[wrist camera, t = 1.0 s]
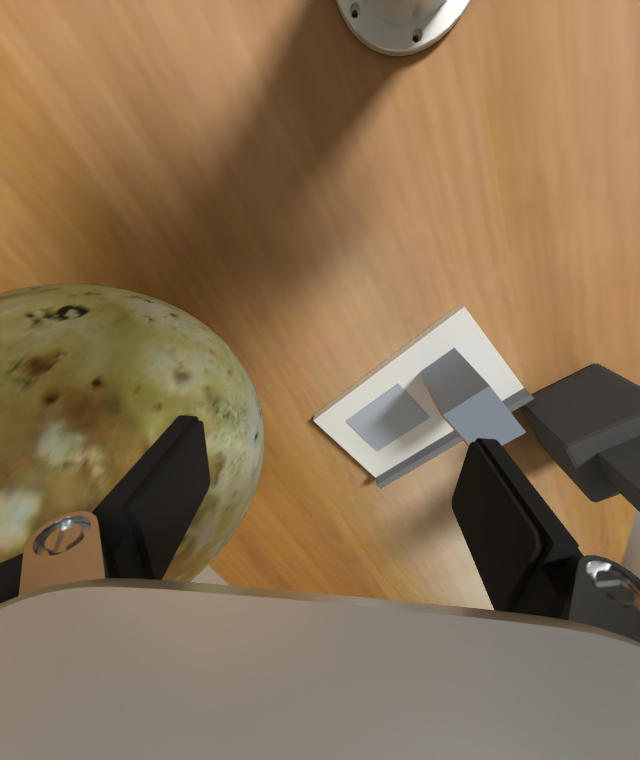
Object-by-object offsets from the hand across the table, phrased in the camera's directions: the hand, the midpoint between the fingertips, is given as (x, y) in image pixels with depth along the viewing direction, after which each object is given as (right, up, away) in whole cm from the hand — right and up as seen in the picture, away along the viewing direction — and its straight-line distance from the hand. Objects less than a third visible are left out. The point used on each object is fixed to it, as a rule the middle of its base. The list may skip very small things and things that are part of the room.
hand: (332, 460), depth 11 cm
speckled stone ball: (-20, +3, +33) cm, 39 cm away
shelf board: (+12, 0, +32) cm, 34 cm away
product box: (+16, +3, +29) cm, 33 cm away
